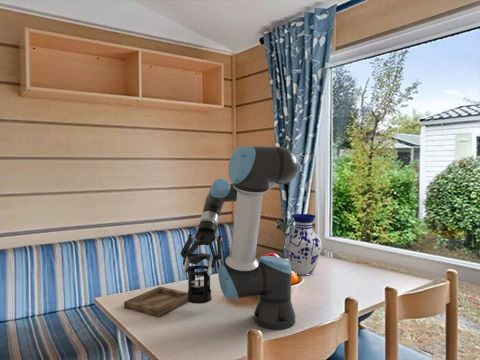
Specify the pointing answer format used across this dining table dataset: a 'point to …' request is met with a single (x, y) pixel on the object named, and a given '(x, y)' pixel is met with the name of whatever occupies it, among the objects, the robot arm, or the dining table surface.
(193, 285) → the french press
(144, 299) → the walnut tray
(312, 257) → the vase
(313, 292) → the dining table surface
